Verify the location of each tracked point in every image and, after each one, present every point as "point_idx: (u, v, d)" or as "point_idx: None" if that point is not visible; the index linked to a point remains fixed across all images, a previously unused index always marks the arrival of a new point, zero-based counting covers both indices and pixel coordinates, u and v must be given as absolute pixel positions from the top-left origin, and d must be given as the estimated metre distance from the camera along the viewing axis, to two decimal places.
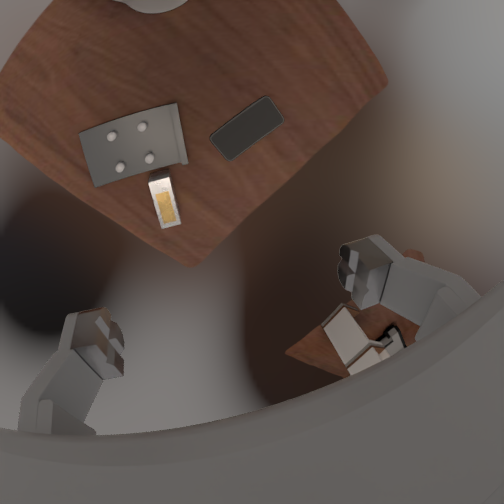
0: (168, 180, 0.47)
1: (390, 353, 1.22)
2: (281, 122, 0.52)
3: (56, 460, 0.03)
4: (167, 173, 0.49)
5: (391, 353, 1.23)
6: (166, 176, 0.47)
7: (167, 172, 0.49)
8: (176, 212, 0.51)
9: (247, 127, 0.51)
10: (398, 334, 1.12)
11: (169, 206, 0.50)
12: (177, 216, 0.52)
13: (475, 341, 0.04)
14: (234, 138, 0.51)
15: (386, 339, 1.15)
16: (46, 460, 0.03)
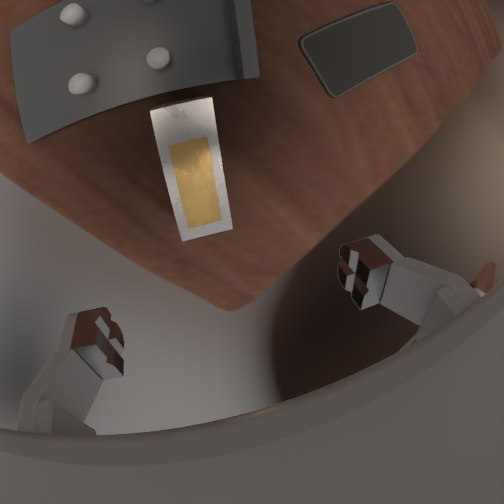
0: (209, 106, 0.15)
1: None
2: (415, 52, 0.20)
3: (56, 460, 0.03)
4: (202, 97, 0.17)
5: None
6: (202, 98, 0.16)
7: (201, 97, 0.18)
8: (223, 199, 0.19)
9: (368, 41, 0.19)
10: None
11: (205, 181, 0.18)
12: (225, 210, 0.20)
13: (475, 341, 0.04)
14: (345, 53, 0.20)
15: None
16: (46, 460, 0.03)
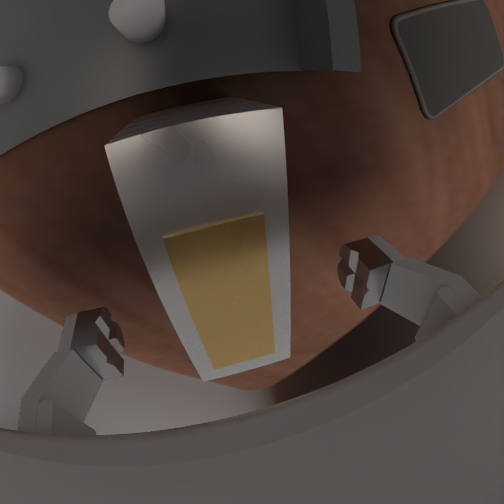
0: (274, 133, 0.06)
1: None
2: (502, 65, 0.10)
3: (56, 460, 0.03)
4: (241, 102, 0.07)
5: None
6: (250, 107, 0.06)
7: (236, 100, 0.08)
8: (283, 324, 0.10)
9: (466, 42, 0.09)
10: None
11: (252, 303, 0.09)
12: (283, 338, 0.10)
13: (475, 341, 0.04)
14: (444, 54, 0.10)
15: None
16: (46, 460, 0.03)
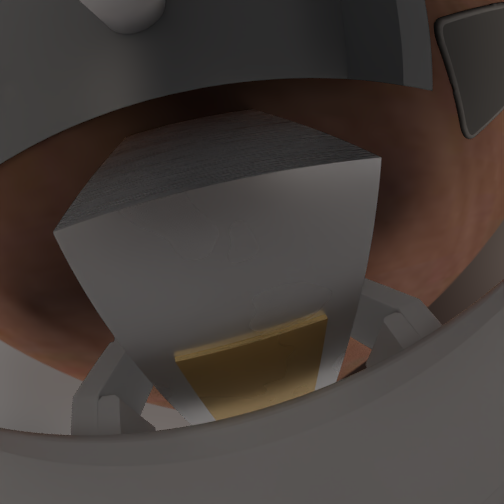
0: (363, 201, 0.03)
1: None
2: None
3: (56, 460, 0.03)
4: (283, 124, 0.05)
5: None
6: (317, 144, 0.04)
7: (271, 120, 0.06)
8: None
9: (502, 53, 0.07)
10: None
11: None
12: None
13: (475, 341, 0.04)
14: (484, 66, 0.08)
15: None
16: (46, 460, 0.03)
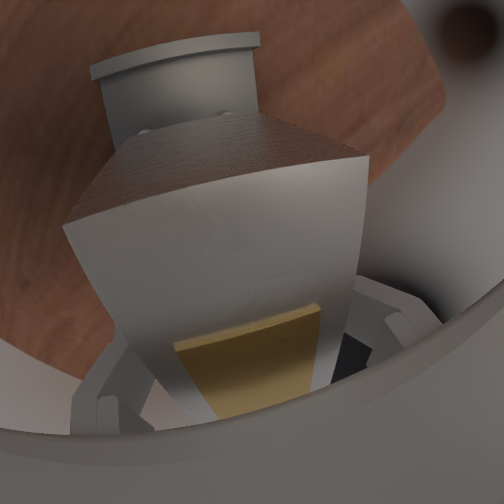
0: (352, 197, 0.04)
1: None
2: None
3: (56, 460, 0.03)
4: (279, 125, 0.05)
5: None
6: (309, 144, 0.04)
7: (268, 121, 0.06)
8: None
9: None
10: None
11: (287, 392, 0.06)
12: None
13: (475, 341, 0.04)
14: None
15: None
16: (46, 460, 0.03)
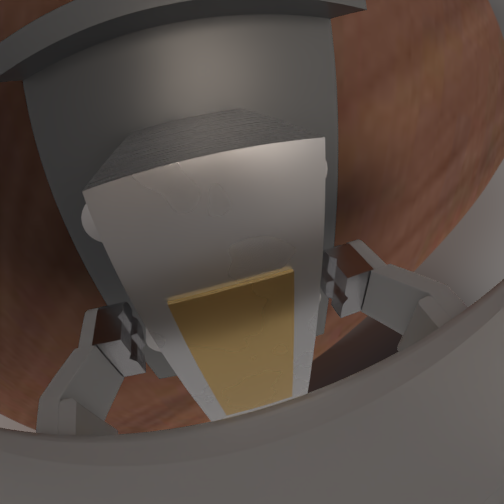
0: (313, 171, 0.04)
1: None
2: None
3: (56, 460, 0.03)
4: (260, 119, 0.06)
5: None
6: (279, 131, 0.05)
7: (252, 116, 0.07)
8: (303, 372, 0.08)
9: None
10: None
11: (272, 359, 0.07)
12: (301, 383, 0.09)
13: (475, 341, 0.04)
14: None
15: None
16: (46, 460, 0.03)
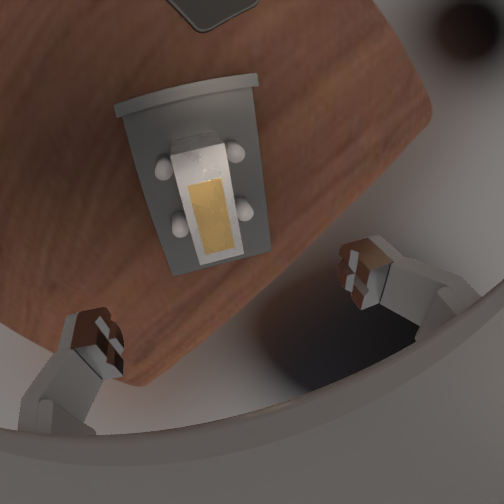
0: (222, 151, 0.19)
1: None
2: None
3: (56, 460, 0.03)
4: (215, 137, 0.20)
5: None
6: (216, 142, 0.19)
7: (214, 136, 0.21)
8: (236, 229, 0.23)
9: None
10: None
11: (220, 215, 0.21)
12: (237, 238, 0.23)
13: (475, 341, 0.04)
14: None
15: None
16: (46, 460, 0.03)
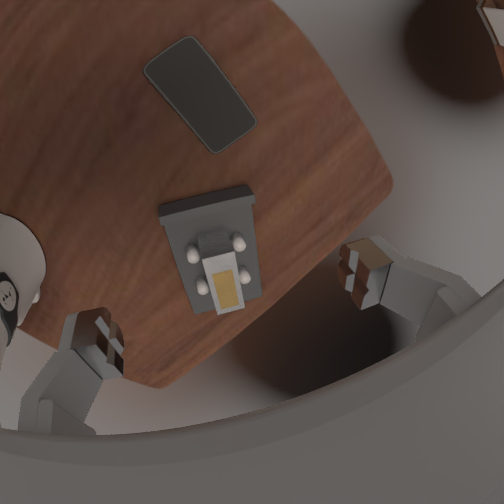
0: (233, 255, 0.33)
1: None
2: (193, 39, 0.23)
3: (56, 460, 0.03)
4: (227, 240, 0.35)
5: None
6: (229, 248, 0.33)
7: (226, 237, 0.35)
8: (240, 295, 0.37)
9: (199, 95, 0.27)
10: None
11: (231, 288, 0.36)
12: (241, 299, 0.37)
13: (475, 341, 0.04)
14: (218, 116, 0.29)
15: None
16: (46, 460, 0.03)
